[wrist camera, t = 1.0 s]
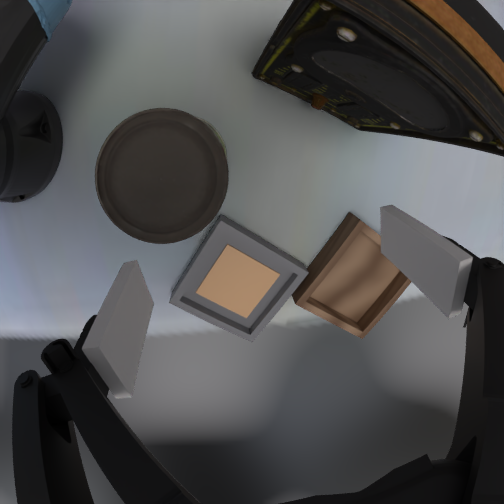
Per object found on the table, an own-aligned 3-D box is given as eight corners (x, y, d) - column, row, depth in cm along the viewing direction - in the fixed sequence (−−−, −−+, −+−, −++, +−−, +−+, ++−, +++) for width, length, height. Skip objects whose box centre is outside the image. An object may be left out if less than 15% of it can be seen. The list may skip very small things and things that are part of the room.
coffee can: (219, 107, 32) (216, 94, 19) (233, 192, 36) (238, 232, 23) (133, 125, 31) (82, 129, 19) (150, 207, 36) (113, 254, 23)
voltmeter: (244, 81, 31) (289, -6, 8) (274, 23, 28) (354, -103, 5) (359, 138, 34) (523, 180, 12) (384, 83, 31) (548, 73, 9)
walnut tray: (289, 290, 42) (295, 304, 39) (349, 211, 38) (360, 220, 35) (354, 325, 46) (362, 338, 43) (408, 259, 42) (420, 270, 39)
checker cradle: (171, 292, 41) (169, 302, 38) (220, 214, 37) (220, 220, 34) (250, 331, 44) (252, 342, 42) (304, 264, 41) (308, 272, 38)
